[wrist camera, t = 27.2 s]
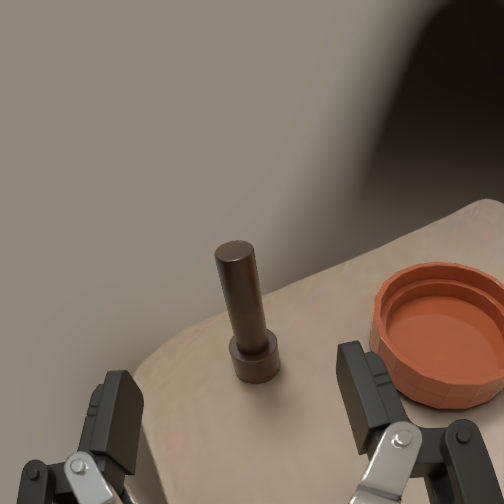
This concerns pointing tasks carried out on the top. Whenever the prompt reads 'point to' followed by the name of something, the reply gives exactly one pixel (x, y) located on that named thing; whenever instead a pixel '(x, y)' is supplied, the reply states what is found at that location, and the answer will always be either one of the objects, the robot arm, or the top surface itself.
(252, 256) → the muddler
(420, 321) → the bowl
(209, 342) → the top surface
